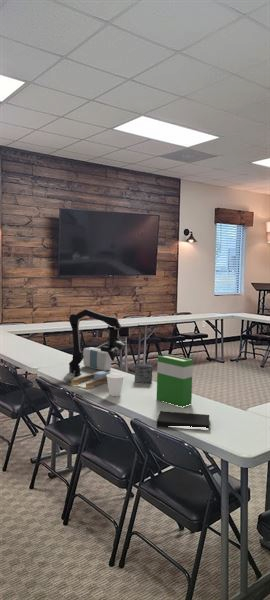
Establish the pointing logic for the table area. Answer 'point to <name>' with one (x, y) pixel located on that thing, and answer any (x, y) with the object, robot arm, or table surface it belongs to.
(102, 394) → the table surface
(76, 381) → the rack bay
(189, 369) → the green cereal box
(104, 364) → the stereo radio cassette player
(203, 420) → the black book
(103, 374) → the crate
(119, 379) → the cup
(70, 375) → the winch drum
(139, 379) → the small box
